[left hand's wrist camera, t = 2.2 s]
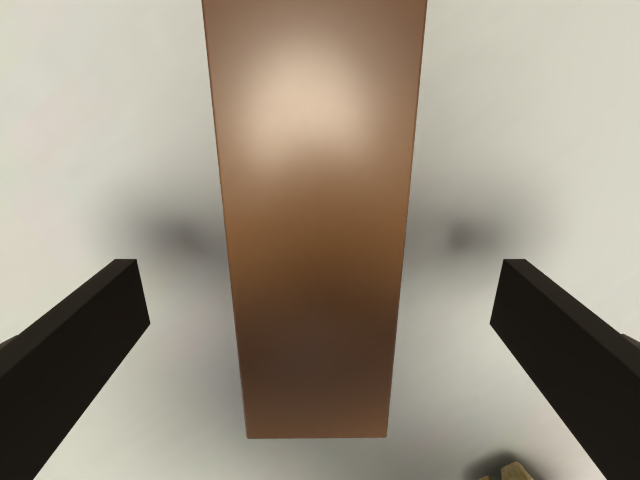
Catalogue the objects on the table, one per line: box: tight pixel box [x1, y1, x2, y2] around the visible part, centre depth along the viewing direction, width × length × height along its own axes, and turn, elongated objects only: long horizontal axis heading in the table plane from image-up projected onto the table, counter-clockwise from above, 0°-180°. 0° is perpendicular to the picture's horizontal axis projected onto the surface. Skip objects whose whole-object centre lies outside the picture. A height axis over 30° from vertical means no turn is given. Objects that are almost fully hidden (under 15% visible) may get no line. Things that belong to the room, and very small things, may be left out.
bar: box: [202, 0, 427, 439], centre depth 11 cm, size 25×5×8 cm, turn 0°
